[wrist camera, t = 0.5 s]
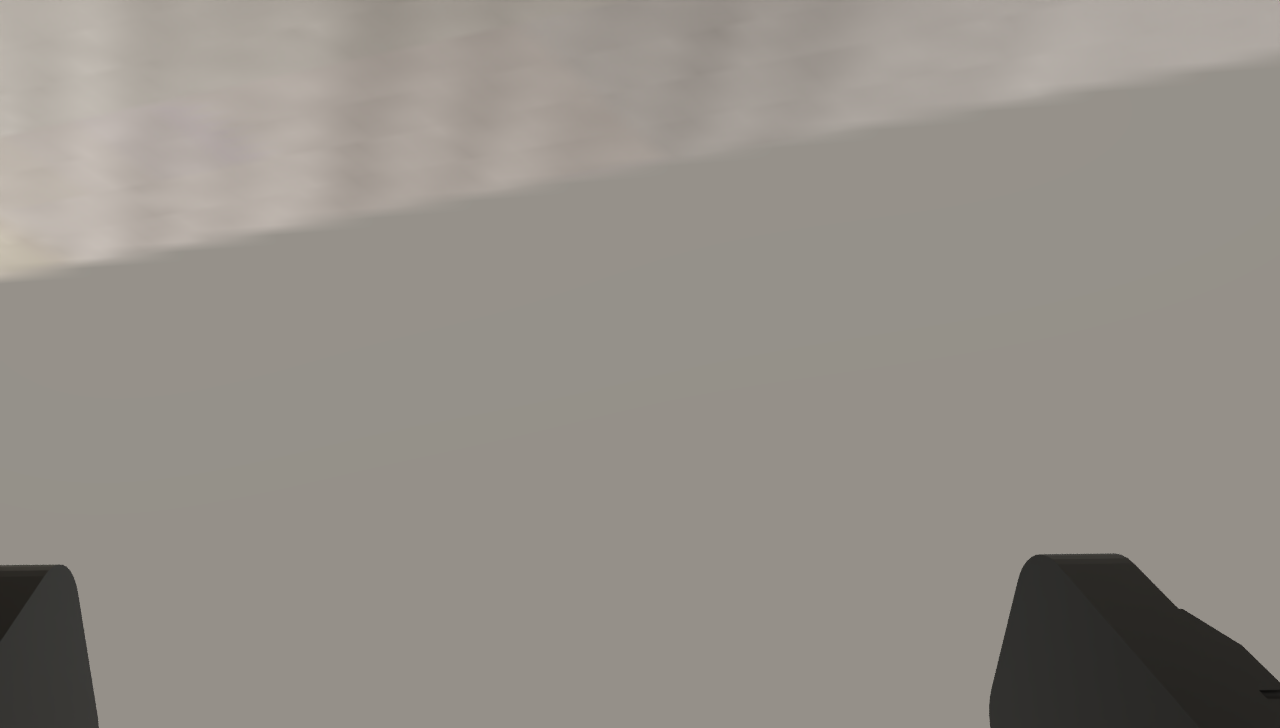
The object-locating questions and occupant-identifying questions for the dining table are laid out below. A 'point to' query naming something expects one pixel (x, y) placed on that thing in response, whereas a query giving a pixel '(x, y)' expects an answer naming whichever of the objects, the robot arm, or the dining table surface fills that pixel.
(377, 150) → the dining table surface
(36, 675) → the robot arm
